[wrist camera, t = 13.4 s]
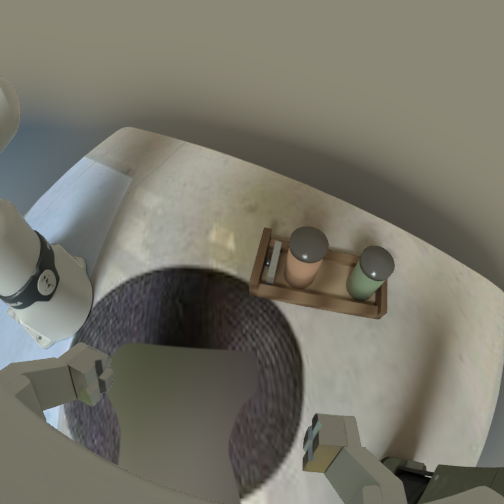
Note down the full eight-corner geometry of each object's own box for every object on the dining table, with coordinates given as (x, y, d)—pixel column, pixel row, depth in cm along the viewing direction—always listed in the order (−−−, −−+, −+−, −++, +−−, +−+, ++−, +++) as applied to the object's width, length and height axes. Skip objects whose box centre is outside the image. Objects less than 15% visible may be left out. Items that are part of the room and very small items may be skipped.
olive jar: (344, 298, 41) (361, 274, 34) (346, 270, 44) (361, 242, 37) (373, 303, 40) (395, 280, 34) (374, 275, 43) (393, 249, 36)
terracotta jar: (280, 285, 42) (286, 254, 35) (286, 257, 45) (292, 223, 37) (313, 292, 42) (326, 262, 34) (317, 264, 44) (329, 230, 37)
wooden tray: (249, 294, 42) (249, 282, 38) (263, 242, 47) (264, 227, 44) (379, 319, 39) (389, 310, 36) (379, 266, 44) (388, 253, 41)
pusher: (260, 284, 42) (261, 275, 40) (268, 250, 46) (269, 239, 43) (272, 287, 42) (274, 277, 39) (280, 253, 45) (281, 242, 43)
